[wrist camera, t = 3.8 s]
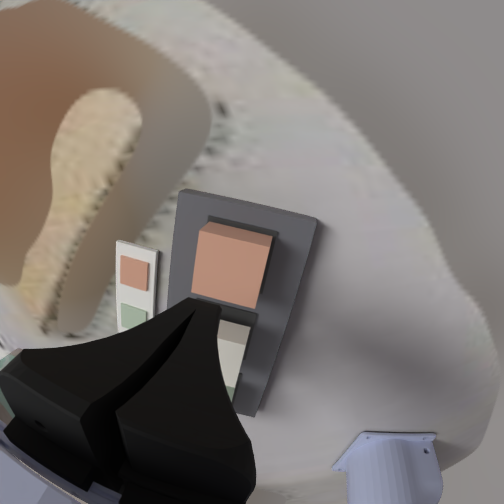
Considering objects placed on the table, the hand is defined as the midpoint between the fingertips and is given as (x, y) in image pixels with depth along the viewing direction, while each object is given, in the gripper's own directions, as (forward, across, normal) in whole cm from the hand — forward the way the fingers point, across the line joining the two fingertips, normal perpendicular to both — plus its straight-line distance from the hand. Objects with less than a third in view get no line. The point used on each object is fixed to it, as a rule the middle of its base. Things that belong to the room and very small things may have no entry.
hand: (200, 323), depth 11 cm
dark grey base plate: (+8, 0, +6) cm, 10 cm away
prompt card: (+8, +7, +6) cm, 12 cm away
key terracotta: (+7, 0, 0) cm, 7 cm away
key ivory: (+6, 0, +6) cm, 8 cm away
